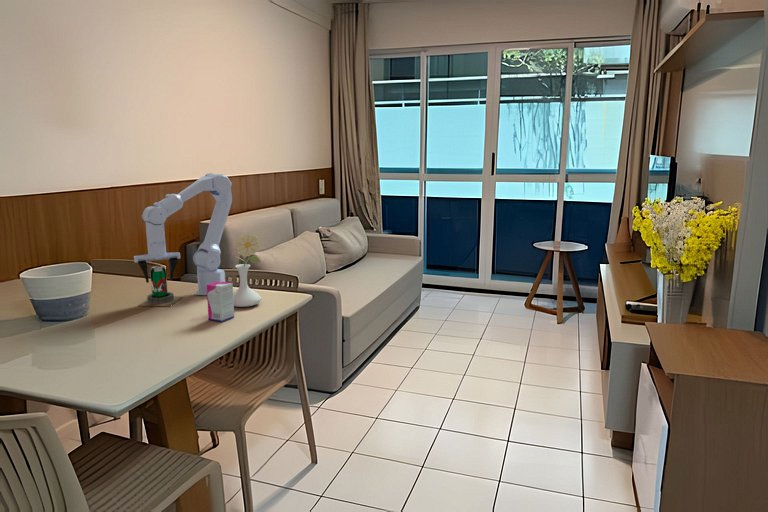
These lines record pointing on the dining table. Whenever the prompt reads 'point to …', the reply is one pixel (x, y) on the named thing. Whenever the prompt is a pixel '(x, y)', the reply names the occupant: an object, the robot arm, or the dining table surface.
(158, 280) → the soda can
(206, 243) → the robot arm
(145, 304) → the can socket
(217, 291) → the supplement box
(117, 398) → the dining table surface
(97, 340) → the dining table surface
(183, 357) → the dining table surface
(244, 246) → the flower in vase
